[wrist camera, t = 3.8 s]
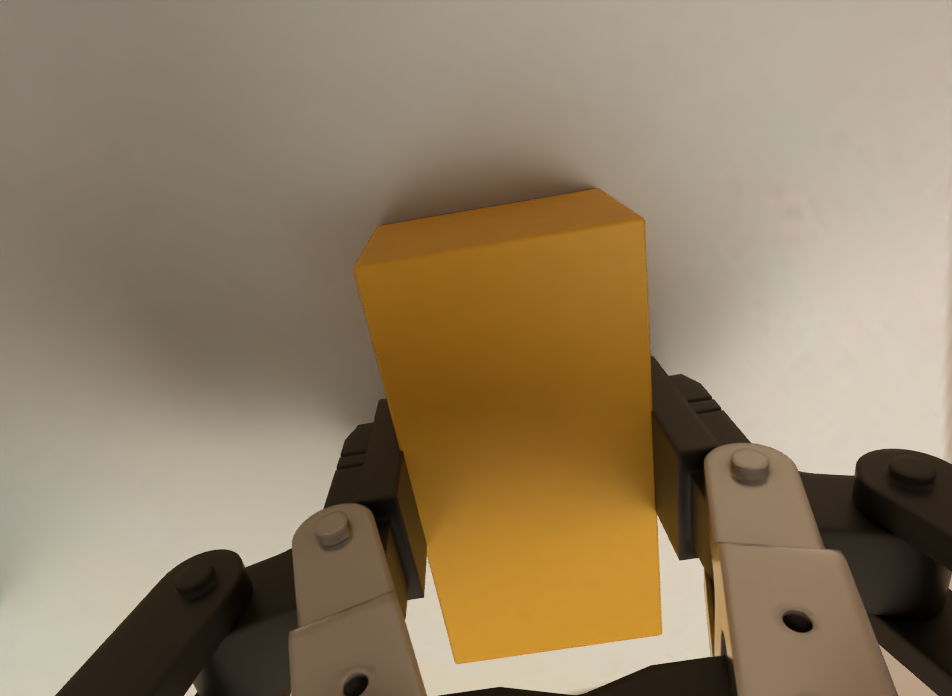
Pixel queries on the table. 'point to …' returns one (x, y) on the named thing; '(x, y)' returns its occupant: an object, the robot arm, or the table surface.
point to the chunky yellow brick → (524, 416)
